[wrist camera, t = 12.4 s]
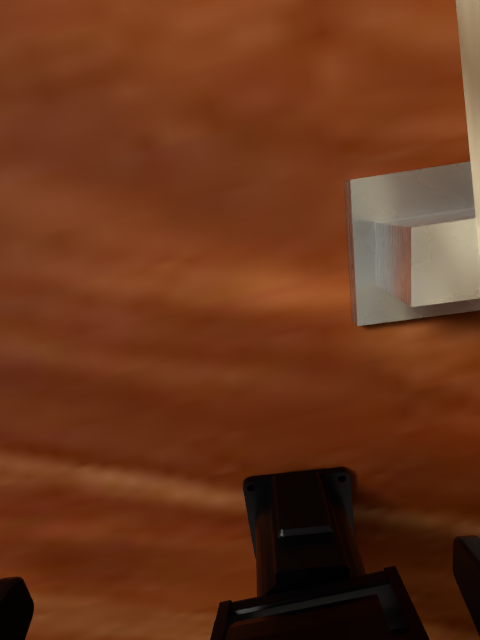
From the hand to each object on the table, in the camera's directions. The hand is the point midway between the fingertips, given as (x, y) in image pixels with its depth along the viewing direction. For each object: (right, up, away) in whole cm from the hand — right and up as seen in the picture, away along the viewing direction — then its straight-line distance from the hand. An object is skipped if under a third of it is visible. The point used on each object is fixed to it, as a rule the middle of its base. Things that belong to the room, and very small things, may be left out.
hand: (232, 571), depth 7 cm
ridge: (+12, +9, +10) cm, 18 cm away
